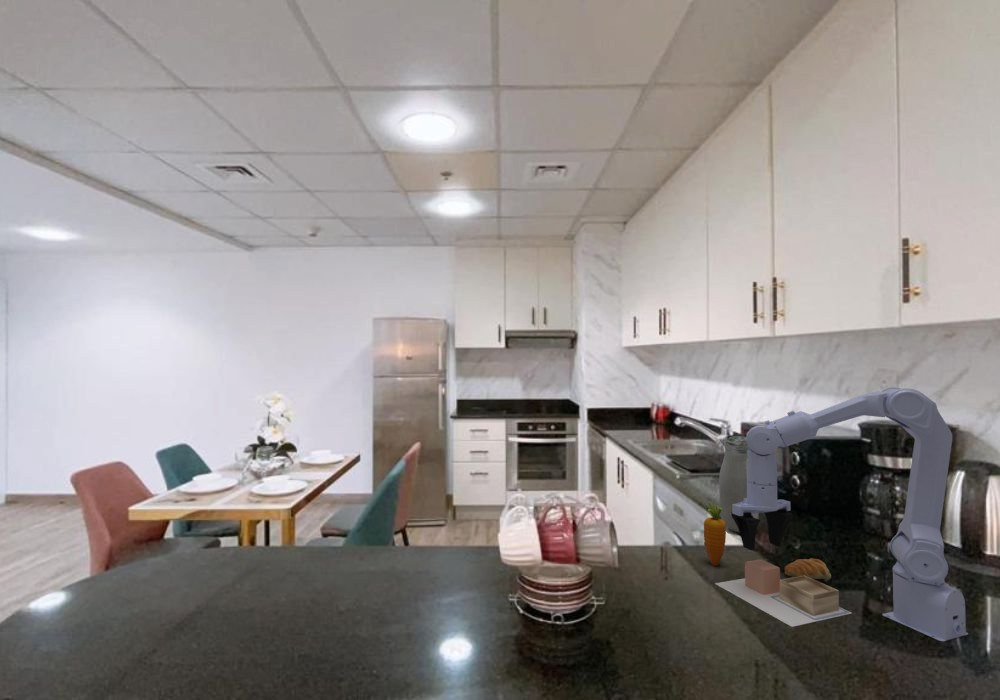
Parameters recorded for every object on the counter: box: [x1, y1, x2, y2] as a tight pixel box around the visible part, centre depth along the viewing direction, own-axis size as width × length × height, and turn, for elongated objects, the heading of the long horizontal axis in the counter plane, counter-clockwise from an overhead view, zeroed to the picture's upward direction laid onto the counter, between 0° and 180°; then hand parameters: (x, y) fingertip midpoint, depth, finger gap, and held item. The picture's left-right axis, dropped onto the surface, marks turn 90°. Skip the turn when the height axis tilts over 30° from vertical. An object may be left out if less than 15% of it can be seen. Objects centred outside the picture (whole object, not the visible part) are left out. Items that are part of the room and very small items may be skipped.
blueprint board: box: [714, 577, 852, 628], centre depth 95 cm, size 18×16×1 cm
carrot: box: [703, 501, 727, 567], centre depth 111 cm, size 5×5×15 cm
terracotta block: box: [744, 559, 781, 595], centre depth 99 cm, size 5×5×5 cm
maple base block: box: [780, 576, 840, 616], centre depth 92 cm, size 7×7×4 cm
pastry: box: [783, 557, 832, 580], centre depth 107 cm, size 9×7×4 cm
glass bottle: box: [718, 435, 760, 534], centre depth 138 cm, size 10×10×28 cm
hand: (762, 546), depth 99 cm, fingers open, 7 cm apart
